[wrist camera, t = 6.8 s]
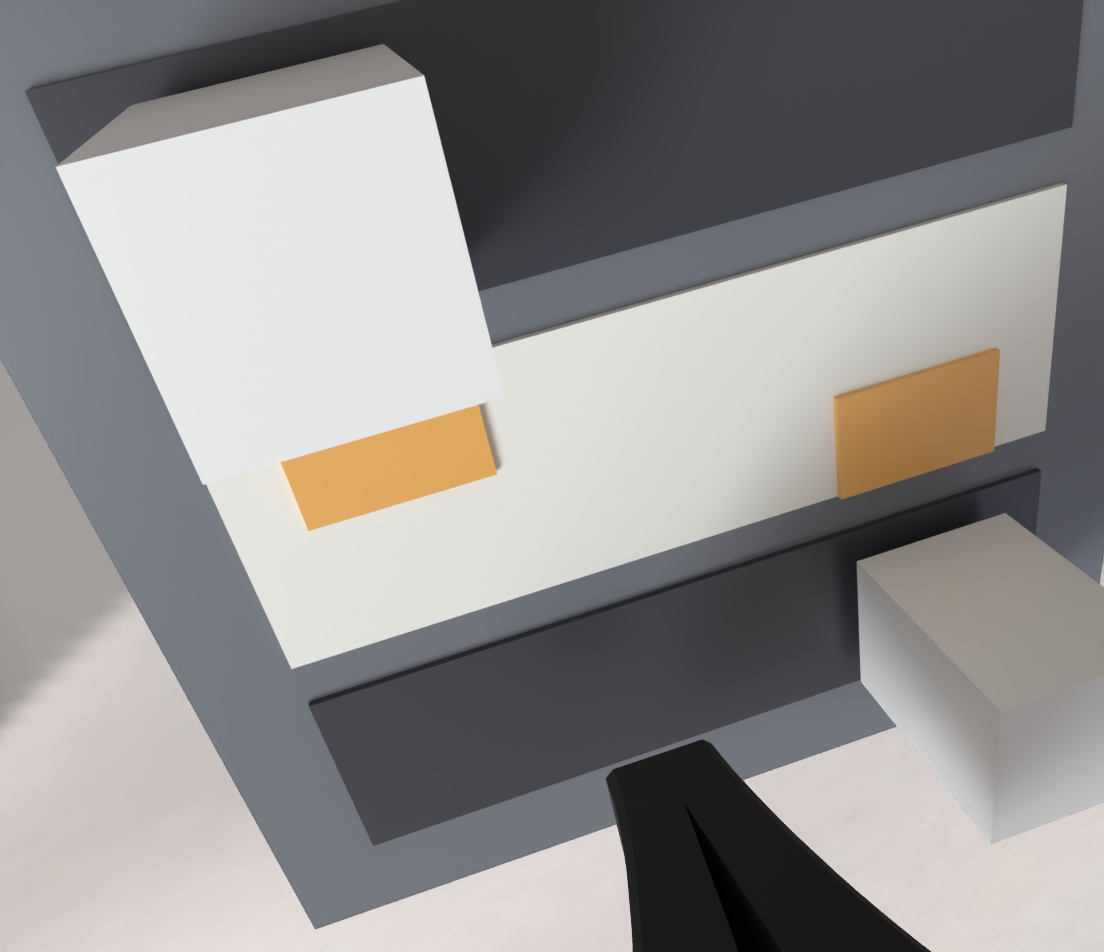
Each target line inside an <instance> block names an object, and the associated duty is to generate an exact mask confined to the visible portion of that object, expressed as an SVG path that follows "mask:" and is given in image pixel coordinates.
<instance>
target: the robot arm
mask: <svg viewBox="0 0 1104 952" xmlns="http://www.w3.org/2000/svg"><path fill="white" fill-rule="evenodd" d="M606 782H607V786H608V791H609V795H610V799H611V803H612V807H613V811H614V815H615V819H616V823H617V827H618V831H619V835H620V839H621V843H622V847H623V851H624V856H625V863H626V870H627V879H628V891H629V902H630V914H631V925H632V943H633V952H931V951H930V950H928V949H927V948H926V947H924V946H923V945H922V944H921V943H919V942H918V941H917V940H915V939H914V938H913V937H912V936H910V935H909V934H908V933H907V932H906V931H904V930H903V929H902V928H901V927H899V926H898V925H897V924H896V923H894V922H893V921H892V920H891V919H890V918H888V917H887V916H886V915H885V914H884V913H882V912H881V911H880V910H879V909H878V908H876V907H875V906H874V905H873V904H872V903H871V902H869V901H868V900H867V899H866V898H865V897H863V896H862V895H861V894H860V893H859V892H858V891H856V890H855V889H854V888H853V887H852V886H851V885H850V884H848V883H847V882H846V881H845V880H844V879H843V878H842V877H841V876H839V875H838V874H837V873H836V872H835V871H834V870H833V869H832V868H831V867H830V866H829V865H827V864H826V863H825V862H824V861H823V860H822V859H821V858H820V857H819V856H818V855H817V854H816V853H815V852H814V851H812V850H811V849H810V848H809V847H808V846H807V845H806V844H805V843H804V842H803V841H802V840H801V839H800V838H799V837H797V836H796V835H795V834H794V833H793V832H792V831H791V830H790V829H789V828H788V827H787V826H786V825H785V824H784V823H783V822H782V821H781V820H780V819H779V818H778V817H777V816H776V815H775V814H774V813H773V812H772V811H771V810H770V809H769V808H768V807H767V805H766V804H765V803H764V802H763V801H762V800H761V799H760V798H759V797H758V796H757V795H756V794H755V793H754V792H753V791H752V790H751V789H750V788H749V786H748V785H747V784H746V783H745V782H744V781H743V780H742V779H741V778H740V777H739V775H738V774H737V773H736V772H735V771H734V770H733V769H732V767H731V766H730V765H729V764H728V763H727V762H726V760H725V759H724V758H723V757H722V756H721V754H720V753H719V752H718V751H717V750H716V748H715V747H714V746H713V744H712V743H710V742H708V741H706V740H703V739H701V740H699V741H696V742H693V743H690V744H687V745H684V746H681V747H678V748H675V749H672V750H669V751H666V752H663V753H660V754H657V755H654V756H651V757H648V758H645V759H642V760H639V761H636V762H633V763H630V764H627V765H624V766H621V767H618V768H615V769H613V770H612V771H611V772H610V773H609V775H608V776H607V777H606Z"/></svg>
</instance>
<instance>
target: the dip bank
mask: <svg viewBox="0 0 1104 952" xmlns="http://www.w3.org/2000/svg"><path fill="white" fill-rule="evenodd" d="M381 44H384V45H386V46H387V47H388V48H389V49H391V50H392V51H393V52H395V53H396V54H397V55H398V56H400V57H401V58H402V59H404V60H405V61H406V62H408V63H409V64H410V65H411V66H413V67H414V68H415V69H417V70H418V71H419V72H420V73H422V74H423V75H424V77H425V81H426V85H427V89H428V93H429V97H430V101H431V105H432V109H433V113H434V117H435V121H436V125H437V129H438V133H439V137H440V141H441V145H442V149H443V153H444V157H445V161H446V165H447V169H448V173H449V177H450V181H451V185H452V189H453V193H454V197H455V201H456V205H457V209H458V213H459V217H460V221H461V225H462V229H463V233H464V237H465V241H466V245H467V249H468V253H469V257H470V261H471V265H472V269H473V273H474V277H475V281H476V285H477V289H478V293H479V297H480V301H481V305H482V309H483V313H484V317H485V321H486V325H487V329H488V333H489V337H490V341H491V345H492V349H493V353H494V357H495V361H496V365H497V369H498V373H499V377H500V380H501V384H502V388H503V392H504V396H505V397H503V398H500V399H496V400H493V401H490V402H486V403H483V404H479V405H476V406H472V407H469V408H465V409H462V410H459V411H455V412H452V413H448V414H445V415H441V416H438V417H435V418H431V419H428V420H424V421H421V422H417V423H414V424H410V425H407V426H404V427H400V428H397V429H393V430H390V431H386V432H383V433H380V434H376V435H373V436H369V437H366V438H362V439H359V440H355V441H352V442H349V443H345V444H342V445H338V446H335V447H331V448H328V449H325V450H321V451H318V452H314V453H311V454H307V455H304V456H301V457H297V458H294V459H290V460H287V461H283V462H280V463H276V464H273V465H270V466H266V467H263V468H259V469H256V470H252V471H249V472H246V473H242V474H239V475H235V476H232V477H228V478H225V479H221V480H218V481H215V482H211V483H208V484H204V485H203V484H202V482H201V480H200V478H199V475H198V473H197V471H196V469H195V467H194V465H193V462H192V460H191V458H190V456H189V454H188V452H187V449H186V447H185V445H184V443H183V441H182V439H181V437H180V434H179V432H178V430H177V428H176V426H175V424H174V421H173V419H172V417H171V415H170V413H169V411H168V409H167V406H166V404H165V402H164V400H163V398H162V396H161V393H160V391H159V389H158V387H157V385H156V383H155V381H154V378H153V376H152V374H151V372H150V370H149V368H148V365H147V363H146V361H145V359H144V357H143V355H142V352H141V350H140V348H139V346H138V344H137V342H136V340H135V337H134V335H133V333H132V331H131V329H130V327H129V324H128V322H127V320H126V318H125V316H124V314H123V312H122V309H121V307H120V305H119V303H118V301H117V299H116V296H115V294H114V292H113V290H112V288H111V286H110V284H109V281H108V279H107V277H106V275H105V273H104V271H103V268H102V266H101V264H100V262H99V260H98V258H97V256H96V253H95V251H94V249H93V247H92V245H91V243H90V240H89V238H88V236H87V234H86V232H85V230H84V227H83V225H82V223H81V221H80V219H79V217H78V215H77V212H76V210H75V208H74V206H73V204H72V202H71V199H70V197H69V195H68V193H67V191H66V189H65V187H64V184H63V182H62V180H61V178H60V176H59V174H58V171H57V169H56V166H57V165H58V164H60V163H61V162H62V161H63V160H65V159H66V158H67V157H68V156H70V155H71V154H72V153H73V152H74V151H76V150H77V149H78V148H79V147H81V146H82V145H83V144H84V143H85V142H87V141H88V140H89V139H90V138H92V137H93V136H94V135H95V134H96V133H98V132H99V131H100V130H101V129H103V128H104V127H105V126H106V125H107V124H109V123H110V122H111V121H112V120H114V119H115V118H116V117H117V116H119V115H120V114H121V113H122V112H123V111H125V110H126V109H127V108H128V107H130V106H131V105H134V104H138V103H142V102H146V101H151V100H155V99H159V98H163V97H167V96H171V95H175V94H179V93H183V92H188V91H192V90H196V89H200V88H204V87H208V86H212V85H216V84H220V83H225V82H229V81H233V80H237V79H241V78H245V77H249V76H253V75H257V74H262V73H266V72H270V71H274V70H278V69H282V68H286V67H290V66H294V65H298V64H303V63H307V62H311V61H315V60H319V59H323V58H327V57H331V56H335V55H340V54H344V53H348V52H352V51H356V50H360V49H364V48H368V47H372V46H377V45H381ZM0 359H1V361H2V363H3V364H4V366H5V368H6V370H7V372H8V373H9V375H10V377H11V379H12V381H13V382H14V384H15V386H16V388H17V390H18V392H19V393H20V395H21V397H22V399H23V401H24V402H25V404H26V406H27V408H28V410H29V411H30V413H31V415H32V417H33V419H34V420H35V422H36V424H37V426H38V428H39V430H40V431H41V433H42V435H43V437H44V439H45V440H46V442H47V444H48V446H49V448H50V449H51V451H52V453H53V455H54V457H55V459H56V460H57V462H58V464H59V466H60V468H61V469H62V471H63V473H64V475H65V477H66V479H67V480H68V482H69V484H70V486H71V488H72V489H73V491H74V493H75V495H76V497H77V498H78V500H79V502H80V504H81V506H82V508H83V509H84V511H85V513H86V514H87V517H88V518H89V520H90V522H91V524H92V525H93V527H94V529H95V531H96V533H97V535H98V537H99V538H100V540H101V542H102V544H103V546H104V547H105V549H106V551H107V553H108V554H109V556H110V558H111V560H112V562H113V564H114V565H115V567H116V569H117V571H118V573H119V575H120V576H121V578H122V580H123V582H124V584H125V585H126V587H127V589H128V591H129V593H130V595H131V596H132V598H133V600H134V602H135V604H136V605H137V607H138V609H139V611H140V613H141V614H142V616H143V618H144V620H145V622H146V624H147V625H148V627H149V629H150V631H151V633H152V634H153V636H154V638H155V640H156V642H157V643H158V645H159V647H160V649H161V651H162V653H163V654H164V656H165V658H166V660H167V662H168V663H169V665H170V667H171V669H172V671H173V672H174V674H175V676H176V678H177V680H178V682H179V683H180V685H181V687H182V689H183V691H184V692H185V694H186V696H187V698H188V700H189V701H190V703H191V705H192V707H193V709H194V711H195V712H196V714H197V716H198V718H199V720H200V721H201V723H202V725H203V727H204V729H205V730H206V732H207V734H208V736H209V738H210V740H211V741H212V743H213V745H214V747H215V749H216V750H217V752H218V754H219V756H220V758H221V759H222V761H223V763H224V765H225V767H226V769H227V770H228V772H229V774H230V776H231V778H232V779H233V781H234V783H235V785H236V787H237V788H238V790H239V792H240V794H241V796H242V798H243V799H244V801H245V803H246V805H247V807H248V808H249V810H250V812H251V814H252V816H253V817H254V819H255V821H256V823H257V825H258V827H259V828H260V830H261V832H262V834H263V836H264V837H265V839H266V841H267V843H268V845H269V846H270V848H271V850H272V852H273V854H274V856H275V857H276V859H277V861H278V863H279V865H280V866H281V868H282V870H283V872H284V874H285V875H286V877H287V879H288V881H289V883H290V885H291V886H292V888H293V890H294V892H295V894H296V895H297V897H298V899H299V901H300V903H301V904H302V906H303V908H304V910H305V912H306V914H307V915H308V917H309V919H310V921H311V923H312V924H313V926H314V928H315V929H318V928H321V927H324V926H326V925H329V924H332V923H335V922H338V921H341V920H344V919H346V918H349V917H352V916H355V915H358V914H361V913H364V912H367V911H369V910H372V909H375V908H378V907H381V906H384V905H387V904H389V903H392V902H395V901H398V900H401V899H404V898H407V897H410V896H412V895H415V894H418V893H421V892H424V891H427V890H430V889H432V888H435V887H438V886H441V885H444V884H447V883H450V882H452V881H455V880H458V879H461V878H464V877H467V876H470V875H473V874H475V873H478V872H481V871H484V870H487V869H490V868H493V867H495V866H498V865H501V864H504V863H507V862H510V861H513V860H516V859H518V858H521V857H524V856H527V855H530V854H533V853H536V852H538V851H541V850H544V849H547V848H550V847H553V846H556V845H558V844H561V843H564V842H567V841H570V840H573V839H576V838H579V837H581V836H584V835H587V834H590V833H593V832H596V831H599V830H601V829H604V828H607V827H610V826H613V825H616V824H617V823H616V819H615V815H614V811H613V807H612V803H611V799H610V795H609V791H608V786H607V782H606V777H607V776H608V775H609V773H610V772H611V771H612V770H613V769H615V768H618V767H621V766H624V765H627V764H630V763H633V762H636V761H639V760H642V759H645V758H648V757H651V756H654V755H657V754H660V753H663V752H666V751H669V750H672V749H675V748H678V747H681V746H684V745H687V744H690V743H693V742H696V741H699V740H701V739H703V740H706V741H708V742H710V743H712V744H713V746H714V747H715V748H716V750H717V751H718V752H719V753H720V754H721V756H722V757H723V758H724V759H725V760H726V762H727V763H728V764H729V765H730V766H731V767H732V769H733V770H734V771H735V772H736V773H737V774H738V775H739V777H740V778H741V779H742V780H745V779H748V778H750V777H753V776H756V775H759V774H762V773H765V772H768V771H771V770H773V769H776V768H779V767H782V766H785V765H788V764H791V763H793V762H796V761H799V760H802V759H805V758H808V757H811V756H813V755H816V754H819V753H822V752H825V751H828V750H831V749H834V748H836V747H839V746H842V745H845V744H848V743H851V742H854V741H856V740H859V739H862V738H865V737H868V736H871V735H874V734H877V733H879V732H882V731H885V730H888V729H891V728H894V727H897V726H896V725H895V724H894V722H893V721H892V720H891V719H890V717H889V716H888V715H887V714H886V712H885V711H884V710H883V709H882V707H881V706H880V705H879V704H878V702H877V701H876V700H875V699H874V697H873V696H872V695H871V694H870V692H869V691H868V690H867V689H866V687H865V686H864V685H863V684H862V682H861V674H860V644H859V615H858V585H857V561H860V560H863V559H866V558H869V557H872V556H875V555H878V554H881V553H884V552H887V551H890V550H893V549H896V548H899V547H903V546H906V545H909V544H912V543H915V542H918V541H921V540H924V539H927V538H930V537H933V536H936V535H939V534H942V533H945V532H949V531H952V530H955V529H958V528H961V527H964V526H967V525H970V524H973V523H976V522H979V521H982V520H985V519H988V518H992V517H995V516H998V515H1001V514H1004V513H1006V514H1007V515H1009V516H1010V517H1011V518H1013V519H1014V520H1015V521H1017V522H1018V523H1019V524H1020V525H1022V526H1023V527H1024V528H1026V529H1027V530H1028V531H1030V532H1031V533H1032V534H1034V535H1035V536H1036V537H1038V538H1039V539H1040V540H1042V541H1043V542H1044V543H1046V544H1047V545H1048V546H1050V547H1051V548H1052V549H1054V550H1055V551H1056V552H1057V553H1059V554H1060V555H1061V556H1063V557H1064V558H1065V559H1067V560H1068V561H1069V562H1071V563H1072V564H1073V565H1075V566H1076V567H1077V568H1079V569H1080V570H1081V571H1083V572H1084V573H1085V574H1087V575H1088V576H1089V577H1091V578H1092V579H1093V580H1094V581H1096V582H1097V583H1098V584H1100V577H1101V570H1102V563H1103V555H1104V0H0Z"/></svg>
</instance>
